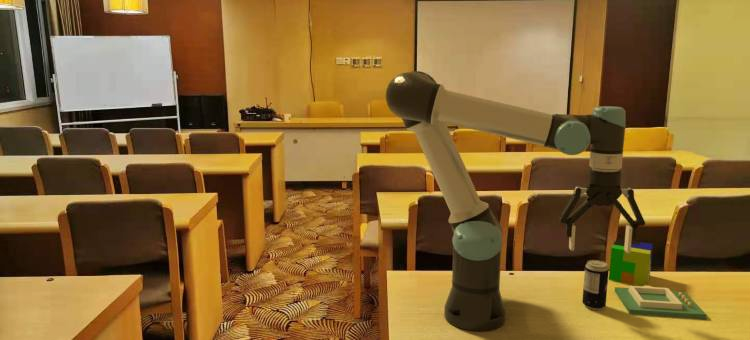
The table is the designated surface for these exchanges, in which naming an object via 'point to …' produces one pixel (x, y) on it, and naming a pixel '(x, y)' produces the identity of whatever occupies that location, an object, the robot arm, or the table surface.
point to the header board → (658, 302)
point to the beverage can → (595, 284)
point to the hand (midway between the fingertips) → (599, 250)
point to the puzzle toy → (631, 263)
